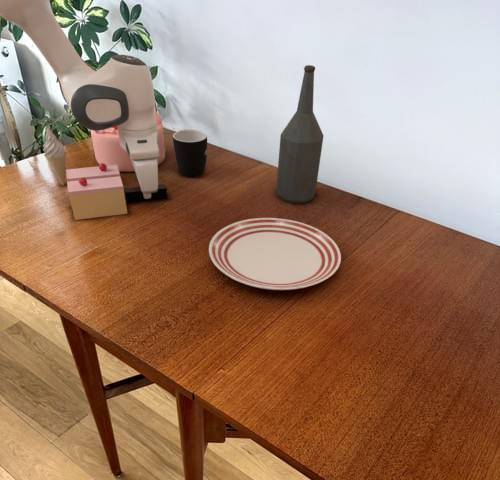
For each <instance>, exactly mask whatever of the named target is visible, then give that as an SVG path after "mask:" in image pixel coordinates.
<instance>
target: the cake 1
mask: <svg viewBox="0 0 500 480" xmlns="http://www.w3.org/2000/svg"><path fill="white" fill-rule="evenodd" d="M65 175H66V183H67V194H68V193H69V194H68V198H69V197H70V198H69V202H70V201H71V202H70V206H71V205H72V206H71V209H72V213H73V217H74V220H75V221H78V220H85V219H86V220H87V219H94V218H103V217H110V216H119V215H127V214H128V207H127V202H126V201H125V195H124V188H125V187H124V188H123V186H124V185H123V181H122V178H121V174H120V171H119V170H118V166H117V165H109V166H106V165H105V164H104V163H101V164H98V166H89V167H79V168H67V169H66V168H65Z"/></svg>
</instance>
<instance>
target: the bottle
mask: <svg viewBox="0 0 500 480" xmlns="http://www.w3.org/2000/svg"><path fill="white" fill-rule="evenodd" d="M315 70H316V67H315V66H314V65H310V64H308V65H305V66H303V71H304V72H303V77H302V83H301V87H300V93H299V97H298V102H297V108H296V111H295V113H294V114H293V115H292V117H291V118H290V120H289V122H288V123H287V124H286V125H285V128H283V130H282V132H281V133H280V139H279V150H278V151H279V152H278V163H277V175H276V188H275V193H276V194H277V197H278V198H279V199H281V200H282V201H284V202H285V203H288V204H289V203H290V204H305V203H308V202H311V201H312V200H313V199H314V197H315V195H316V192H317V185H318V179H319V170H320V163H321V158H322V157H321V156H322V149H323V143H324V134H323V131H322V128H321V126H320V124H319V122H318V120H317V117H316V115H315V113H314V91H315V90H314V88H315V87H314V86H315Z"/></svg>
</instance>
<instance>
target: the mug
mask: <svg viewBox="0 0 500 480" xmlns="http://www.w3.org/2000/svg"><path fill="white" fill-rule="evenodd" d="M172 143H173V152H174V158H175V162H176V165H177V169H178V172H179V173H180V175H182V176H183V177H184V178H185V177H186V178H199V177H201V176H202V175H204V172H205V169H206V165H207V156H208V135H207V133H205V131H202V130H199V129H191V128H189V129H181V130H177V131H175V132H174V133H173V134H172Z"/></svg>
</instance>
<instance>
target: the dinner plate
mask: <svg viewBox="0 0 500 480" xmlns="http://www.w3.org/2000/svg"><path fill="white" fill-rule="evenodd" d="M208 255H209V258H210V260H211V262H212V263H213V265H214V266H215V267H216V268H217V269H218V270H219V271H220V272H221V273H223V274H224V275H225V276H227V277H228V278H230V279H231V280H234V281H235V282H238V283H240V284H244V285H246V286H248V287H252V288H256V289H263V290H270V291H292V290H293V291H294V290H299V289H300V290H301V289H304V288H308V287H313V286H315V285H318V284H320V283H322V282H324V281H326V280H327V279H329V278H331V277H332V276H333V275H334V274H336V272H337V270H338V269H339V267H340V265H341V262H342V254H341V250H340V248H339V247H338V245H337V243H336V242H335V240H333V239H332V237H331V236H329V235H328V234H327V233H325V232H324V231H322V230H320V229H318V228H316V227H314V226H311V225H309V224H306V223H304V222H300V221H296V220H292V219H287V218H285V219H284V218H280V217H279V218H277V217H256V218H249V219H242V220H240V221H236V222H233V223H231V224H229V225H227V226H225V227H223V228H220V230H218V231H217V232H216V233H215V234H214V235H213V236H212V238H211V240H210V241H209V245H208Z"/></svg>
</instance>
